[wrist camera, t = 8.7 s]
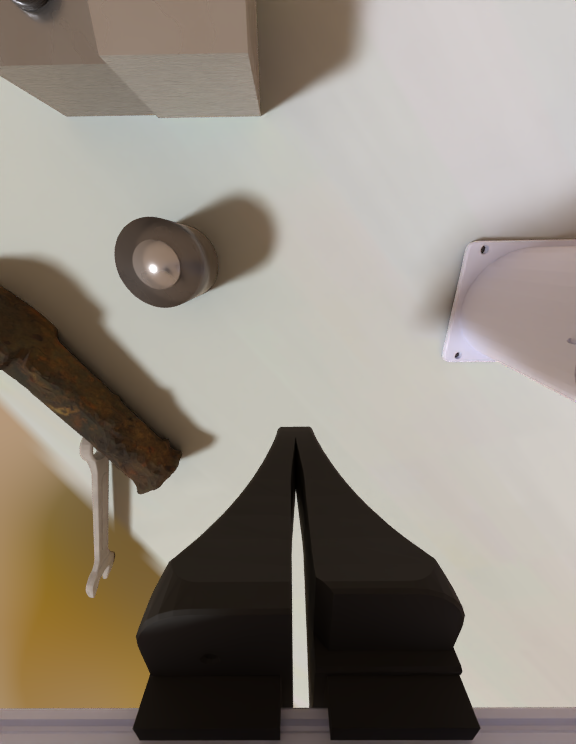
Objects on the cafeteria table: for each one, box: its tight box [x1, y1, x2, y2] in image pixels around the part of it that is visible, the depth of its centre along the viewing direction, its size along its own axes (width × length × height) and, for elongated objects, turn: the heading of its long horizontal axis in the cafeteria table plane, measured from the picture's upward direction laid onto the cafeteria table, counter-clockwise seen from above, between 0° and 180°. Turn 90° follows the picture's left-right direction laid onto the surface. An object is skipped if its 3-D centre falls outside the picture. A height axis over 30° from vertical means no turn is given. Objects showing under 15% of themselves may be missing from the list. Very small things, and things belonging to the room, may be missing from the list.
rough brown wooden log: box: [0, 286, 182, 494], centre depth 19 cm, size 19×4×5 cm, turn 31°
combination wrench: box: [80, 437, 115, 598], centre depth 25 cm, size 4×1×20 cm
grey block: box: [87, 0, 261, 118], centre depth 12 cm, size 6×5×5 cm
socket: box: [115, 217, 218, 308], centre depth 16 cm, size 4×4×4 cm
